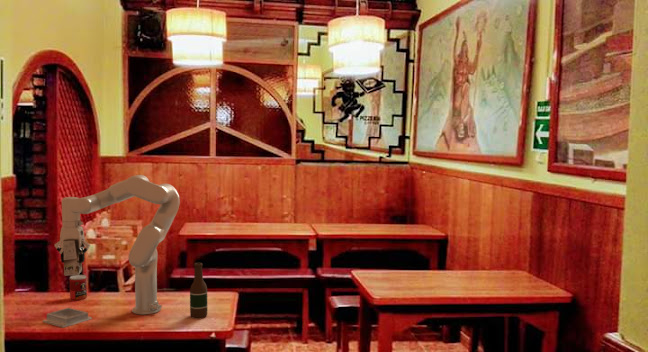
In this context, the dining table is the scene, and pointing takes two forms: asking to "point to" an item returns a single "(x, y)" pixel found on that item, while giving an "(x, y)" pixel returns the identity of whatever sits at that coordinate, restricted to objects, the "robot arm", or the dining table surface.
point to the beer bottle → (198, 294)
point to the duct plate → (66, 317)
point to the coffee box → (71, 258)
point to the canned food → (78, 287)
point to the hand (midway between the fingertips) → (72, 262)
